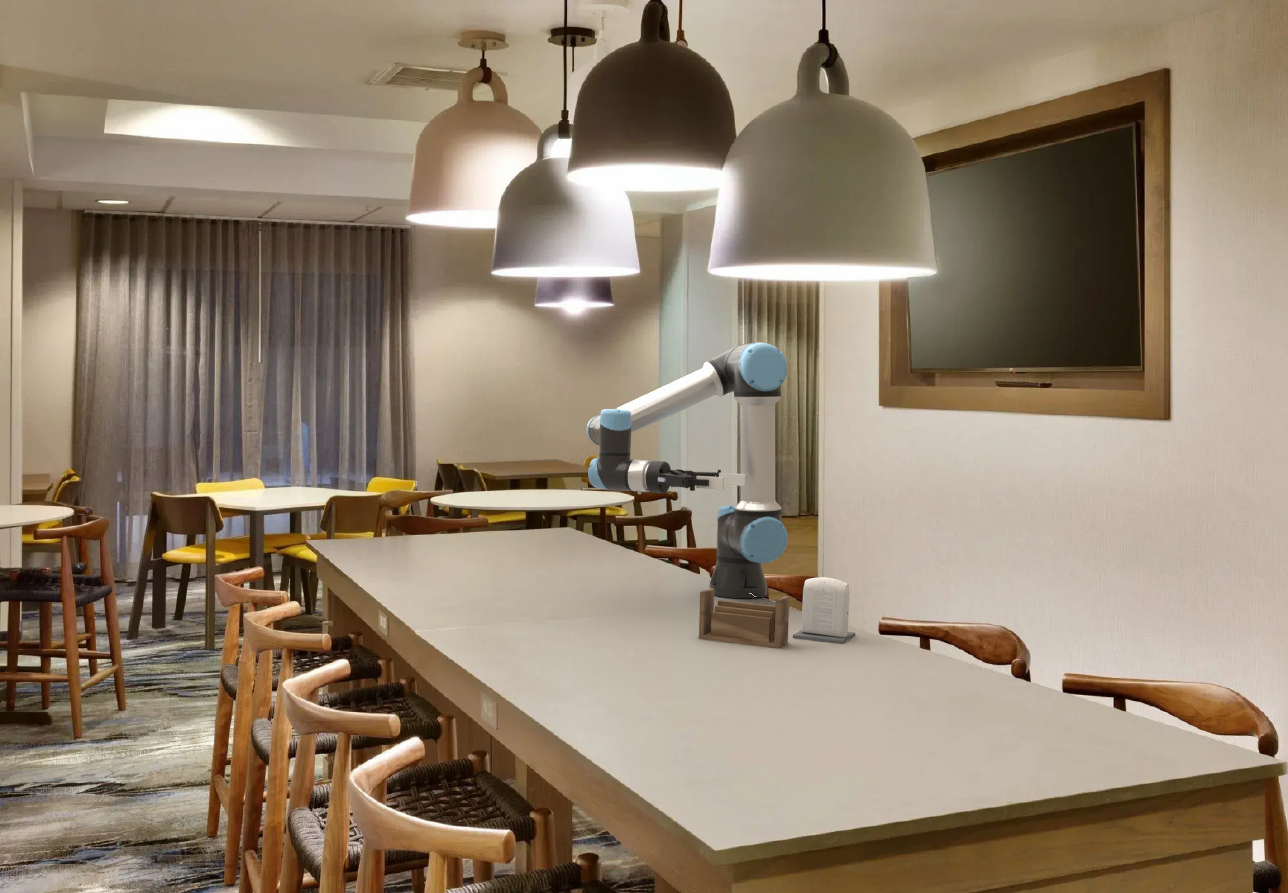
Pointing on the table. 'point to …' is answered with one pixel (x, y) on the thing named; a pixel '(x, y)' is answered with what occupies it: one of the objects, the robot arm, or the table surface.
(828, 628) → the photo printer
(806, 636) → the pad
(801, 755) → the table surface
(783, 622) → the offcut rack
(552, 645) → the table surface
